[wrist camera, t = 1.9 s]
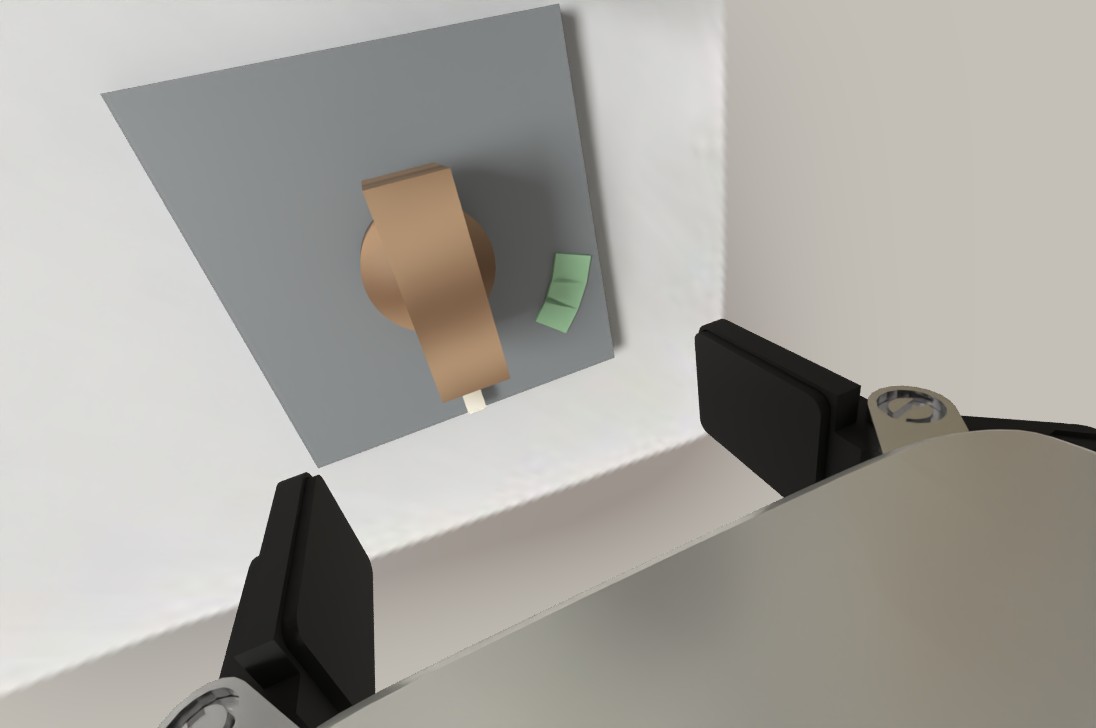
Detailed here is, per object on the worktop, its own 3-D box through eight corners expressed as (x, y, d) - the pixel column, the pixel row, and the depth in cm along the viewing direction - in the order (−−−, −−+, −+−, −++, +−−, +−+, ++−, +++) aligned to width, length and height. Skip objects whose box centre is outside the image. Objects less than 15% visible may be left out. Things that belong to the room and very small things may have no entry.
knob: (325, 186, 24) (315, 203, 18) (459, 152, 25) (491, 157, 19) (424, 424, 31) (440, 492, 25) (524, 387, 33) (561, 442, 27)
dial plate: (115, 96, 21) (98, 93, 20) (548, 10, 26) (560, 2, 24) (319, 454, 31) (318, 470, 30) (605, 349, 36) (615, 358, 34)
